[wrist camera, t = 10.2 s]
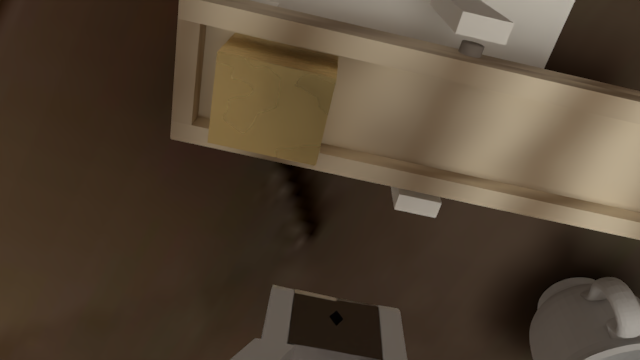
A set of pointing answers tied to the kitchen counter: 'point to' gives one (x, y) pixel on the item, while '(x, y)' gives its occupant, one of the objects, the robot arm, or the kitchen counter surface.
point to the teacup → (586, 321)
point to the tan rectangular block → (271, 98)
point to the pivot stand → (452, 37)
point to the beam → (438, 117)
